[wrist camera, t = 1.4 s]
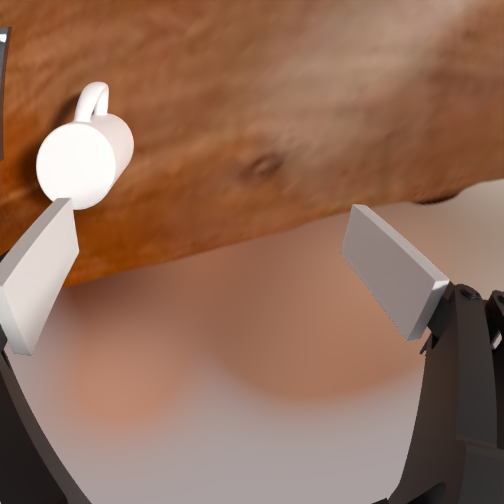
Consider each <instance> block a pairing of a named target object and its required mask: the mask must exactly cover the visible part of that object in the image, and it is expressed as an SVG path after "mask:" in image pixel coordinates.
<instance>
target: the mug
mask: <svg viewBox="0 0 504 504" xmlns="http://www.w3.org/2000/svg"><path fill="white" fill-rule="evenodd" d="M108 96H109V89H108V85H107V84H106V83H103V82H93V83H90V84H88V85H87V86H86V87H85V88H84V89H83V91H82V93H81V95H80V98H79V100H78V104H77V107H76V111H75V116H74V120H73V122H70V123H68V124H65V125H62V126H60V127H58V128H56V129H55V130H53V131H52V132H51V133H50V134H49V135H48V136H47V137H46V138H45V140H44V141H43V143H42V145H41V147H40V149H39V152H38V155H37V161H36V172H37V178H38V181H39V184H40V186H41V188H42V190H43V191H44V193H45V194H46V195H47V197H48V198H49V199H50V200H52V201H53V202H54V201H55V200H56V198H71V197H72V206H73V210H80V209H86V208H89V207H91V206H93V205H95V204H97V203H98V202H99V201H101V200H102V199H103V198H104V197H105V196H106V194H107V193H108V191H109V190H110V189H111V187H112V186H113V184H114V183H115V182H116V180H117V179H118V177H119V176H120V175H121V173H122V172H123V171H124V169H125V168H126V166H127V165H128V164H129V162H130V160H131V157H132V154H133V148H134V142H133V136H132V133H131V131H130V129H129V127H128V126H127V124H126V123H125V122H124V121H123V120H122V119H120V118H119V117H117V116H115V115H113V114H109V113H107V108H108ZM93 109H94V114H93V115H92V112H93Z"/></svg>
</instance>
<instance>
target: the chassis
mask: <svg viewBox="0 0 504 504" xmlns="http://www.w3.org/2000/svg"><path fill="white" fill-rule="evenodd" d="M11 29H12V27H5V28H2V29H0V161H1V160H2V159H4V157H3V97H4V82H5V71H6V62H7V54H8V47H9V41H10V35H11Z"/></svg>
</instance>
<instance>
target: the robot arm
mask: <svg viewBox="0 0 504 504" xmlns="http://www.w3.org/2000/svg"><path fill="white" fill-rule="evenodd" d="M78 253H79V248H78V242H77V236H76V229H75V222H74V215H73V206H72V197H71V198H56V200H55V201H54V202H53V203H52V204H51V205H50V206H49V207H48V208H47V209H46V210H45V211H44V212H43V213H42V214H41V215H40V216H39V217H38V219H37V220H36V221H35V222H34V223H33V224H32V225H31V226H30V227H29V229H28V230H27V231H26V232H25V233H24V234H23V235H22V237H21V238H20V239H19V240H18V241H17V243H16V244H15V245H14V246H13V247H12V249H11V250H8V251H6V252H5V253H4V254H2V255H1V256H0V502H1V504H91V502H90V501H89V500H88V499H87V497H86V496H85V495H84V493H83V492H82V491H81V489H80V488H79V487H78V485H77V484H76V483H75V481H74V480H73V478H72V477H71V476H70V474H69V473H68V471H67V470H66V468H65V467H64V465H63V464H62V462H61V461H60V459H59V458H58V456H57V455H56V453H55V451H54V450H53V448H52V446H51V445H50V443H49V441H48V440H47V438H46V436H45V435H44V433H43V431H42V430H41V427H40V426H39V424H38V422H37V420H36V418H35V416H34V415H33V413H32V411H31V409H30V407H29V405H28V403H27V401H26V399H25V397H24V394H23V392H22V390H21V388H20V386H19V384H18V381H17V379H16V377H15V374H14V372H13V370H12V367H11V365H10V362H9V360H8V357H7V355H6V353H5V351H4V347H5V345H6V343H7V341H8V343H9V345H10V347H11V349H12V351H13V353H14V354H20V355H27V356H32V354H33V351H34V349H35V346H36V343H37V341H38V339H39V336H40V334H41V331H42V329H43V326H44V324H45V322H46V319H47V317H48V315H49V312H50V310H51V308H52V306H53V303H54V301H55V299H56V297H57V295H58V293H59V291H60V289H61V287H62V284H63V282H64V280H65V278H66V276H67V274H68V272H69V270H70V268H71V266H72V265H73V263H74V261H75V259H76V257H77V255H78ZM340 253H341V255H342V256H343V257H344V258H345V260H346V261H347V262H348V263H349V265H350V266H351V267H352V268H353V270H354V271H355V272H356V274H357V275H358V276H359V278H360V279H361V280H362V281H363V283H364V284H365V285H366V287H367V288H368V289H369V291H370V292H371V293H372V295H373V296H374V297H375V299H376V300H377V301H378V303H379V304H380V305H381V307H382V308H383V309H384V311H385V312H386V314H387V315H388V316H389V318H390V319H391V320H392V322H393V323H394V325H395V326H396V327H397V329H398V330H399V332H400V333H401V334H402V336H403V337H404V339H405V340H406V341H409V340H415V339H420V338H421V336H422V335H423V333H424V331H425V329H426V327H427V326H428V328H429V329H430V330H431V334H430V336H429V338H428V339H427V341H426V343H425V344H424V346H423V348H422V349H421V351H420V354H422V353H423V352H424V351H425V350H426V355H425V356H426V359H425V367H424V375H423V382H422V388H421V394H420V400H419V406H418V412H417V416H416V421H415V426H414V431H413V435H412V439H411V444H410V448H409V452H408V455H407V459H406V463H405V467H404V470H403V474H402V477H401V480H400V483H399V485H398V487H397V488H396V490H395V491H394V492H393V493H392V495H391V496H390V498H389V500H387V498H385V499H383V500H380V501H378V502H375V503H372V504H504V292H501V291H497V290H495V291H493V292H492V294H491V296H490V298H489V300H483V299H482V298H481V296H480V294H479V293H478V292H477V291H475V290H474V289H473V288H471V287H469V286H467V285H464V284H457V285H453V283H452V282H451V281H450V280H449V279H448V278H447V277H446V276H445V275H444V274H443V273H442V272H441V271H440V270H439V269H438V268H437V267H436V266H434V265H433V264H432V263H431V262H430V261H429V260H428V259H427V258H426V257H425V256H424V255H423V254H422V253H420V252H419V251H418V250H417V249H416V248H415V247H414V246H413V245H412V244H411V243H409V242H408V241H407V240H406V239H405V238H404V237H403V236H401V235H400V234H399V233H398V232H397V231H396V230H394V229H393V228H392V227H391V226H390V225H389V224H387V223H386V222H385V221H384V220H383V219H382V218H380V217H379V216H378V215H377V214H376V213H374V212H373V211H372V210H371V209H369V208H368V207H367V206H366V205H357V204H352V209H351V213H350V217H349V221H348V225H347V229H346V233H345V237H344V240H343V244H342V248H341V252H340ZM500 333H501V336H502V340H501V342H500V344H499V345H498V346H497V348H496V349H495V348H494V346H493V344H494V342H495V341H496V339H497V338H498V336H499V335H500Z"/></svg>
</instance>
